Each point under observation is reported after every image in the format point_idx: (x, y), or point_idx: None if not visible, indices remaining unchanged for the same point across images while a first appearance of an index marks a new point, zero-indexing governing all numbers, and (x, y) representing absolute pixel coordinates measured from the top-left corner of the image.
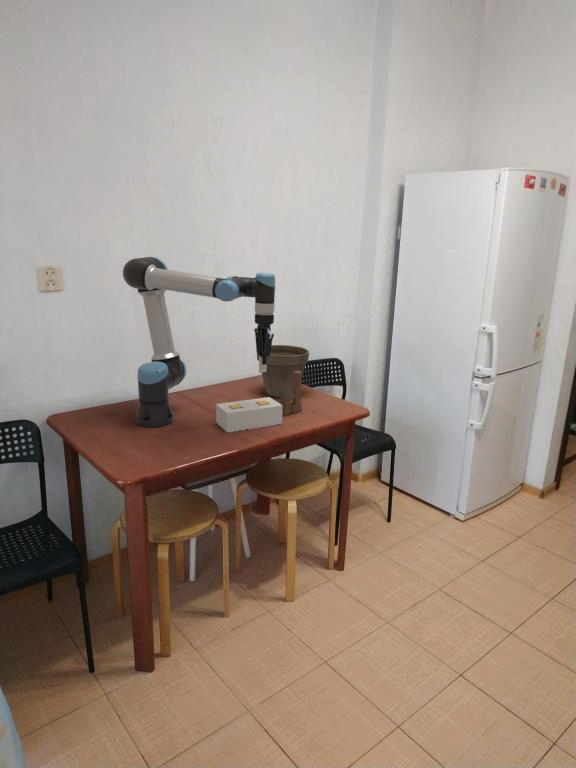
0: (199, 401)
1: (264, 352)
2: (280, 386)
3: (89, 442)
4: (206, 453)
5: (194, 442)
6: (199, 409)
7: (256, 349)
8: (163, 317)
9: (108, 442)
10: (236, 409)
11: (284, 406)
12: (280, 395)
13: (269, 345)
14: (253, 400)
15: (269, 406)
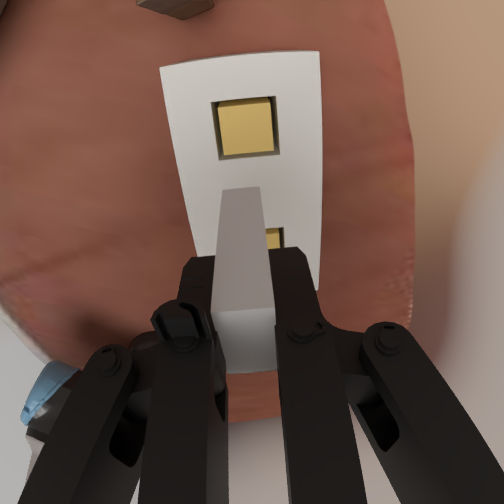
0: (31, 255)
1: (392, 422)
2: (152, 4)
3: (252, 414)
4: (394, 307)
5: (329, 318)
6: (91, 269)
7: (120, 427)
8: None
9: (262, 403)
10: None
11: (207, 1)
12: (169, 9)
13: (487, 492)
14: (194, 159)
15: (309, 117)
